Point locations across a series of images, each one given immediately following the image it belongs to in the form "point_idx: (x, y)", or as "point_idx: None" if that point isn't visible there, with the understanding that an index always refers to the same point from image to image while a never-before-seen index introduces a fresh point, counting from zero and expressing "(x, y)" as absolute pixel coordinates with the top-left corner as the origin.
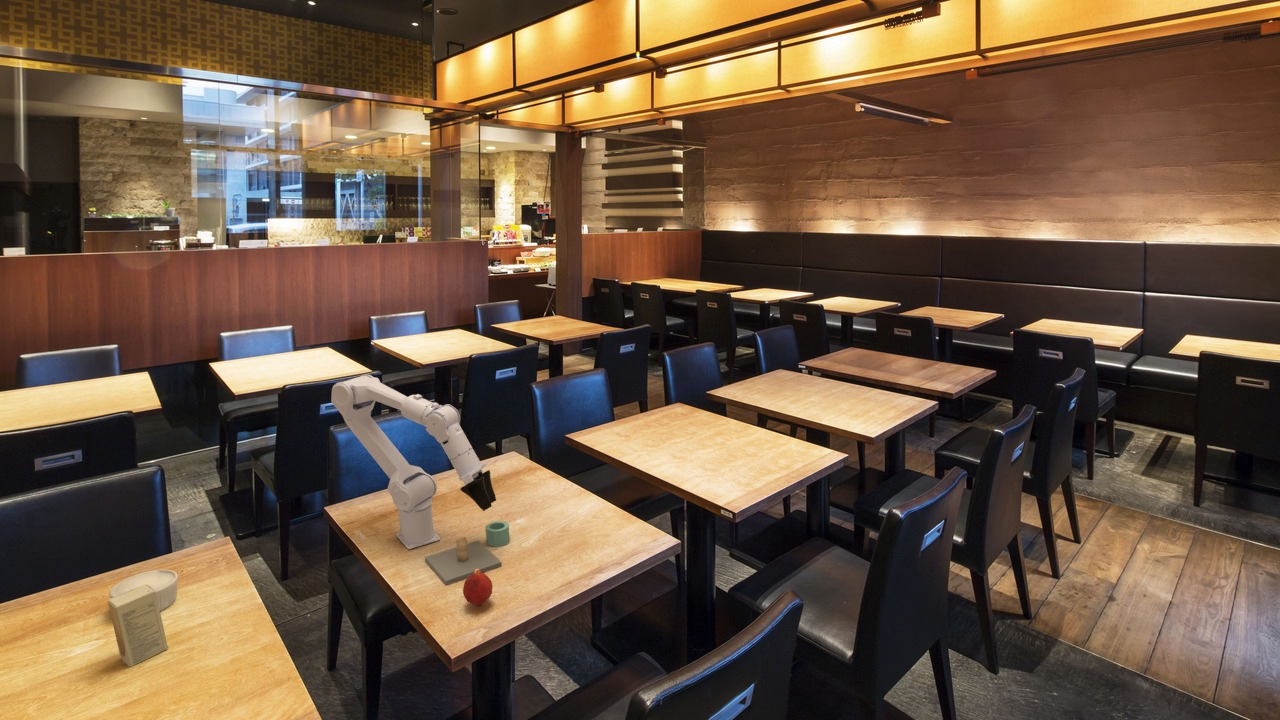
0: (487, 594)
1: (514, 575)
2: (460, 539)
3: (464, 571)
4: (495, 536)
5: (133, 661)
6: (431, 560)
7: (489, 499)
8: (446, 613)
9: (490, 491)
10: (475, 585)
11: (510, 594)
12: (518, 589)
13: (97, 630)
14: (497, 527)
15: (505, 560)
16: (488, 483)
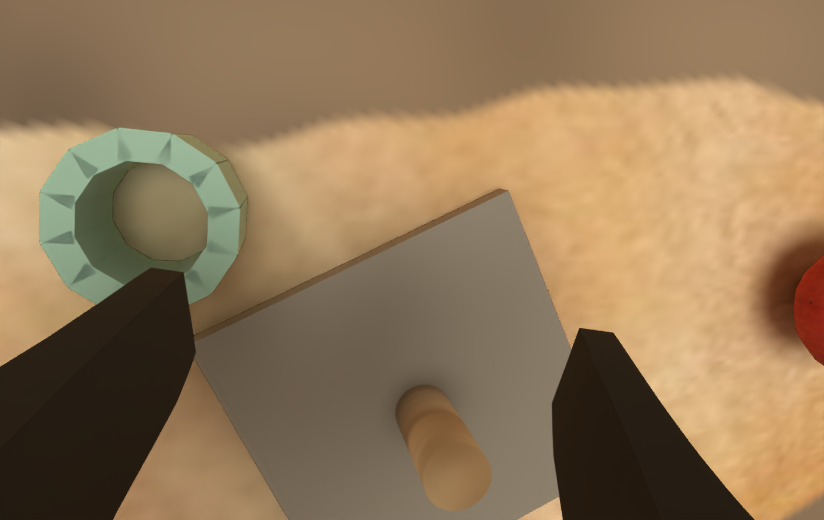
0: None
1: (612, 120)
2: (455, 485)
3: (553, 387)
4: (241, 233)
5: None
6: None
7: (627, 386)
8: (809, 417)
9: (104, 382)
10: None
11: (769, 148)
12: (742, 106)
13: None
14: (89, 220)
15: (438, 165)
16: (5, 476)
